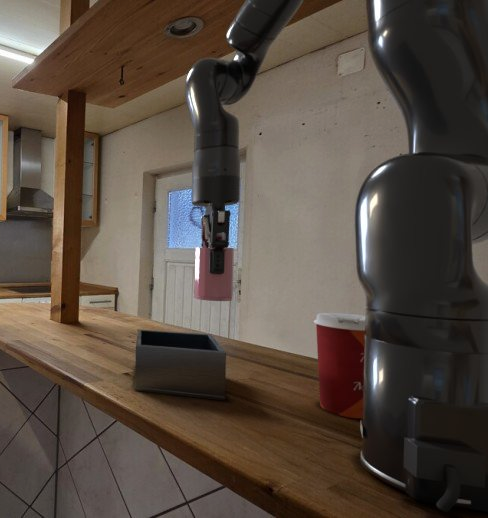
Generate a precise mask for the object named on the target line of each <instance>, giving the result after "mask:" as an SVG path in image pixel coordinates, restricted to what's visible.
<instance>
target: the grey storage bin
mask: <svg viewBox="0 0 488 518" xmlns="http://www.w3.org/2000/svg"><path fill="white" fill-rule="evenodd" d="M134 367H135V369H134V370H135V371H134V372H135V374H134V375H135V376H134V391H137V392H138V391H139V392H145V393H147V392H148V393H154V394H155V393H156V394H163V395H174V396H182V397H189V398H198V399H207V400H217V401H224V402H225V401H226V375H227V374H226V373H227V371H226V369H227V353H226V351H225V349H224V348H223V347H222V346H221V344H220V343H219V342H218V341H217V340H216V338H215V337H214V336H213V335H212V333H211V334H209V333H197V332H196V333H195V332H181V331H169V330H168V331H167V330H166V331H165V330H150V329H137V331H136V339H135V366H134Z"/></svg>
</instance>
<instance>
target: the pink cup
mask: <svg viewBox="0 0 488 518" xmlns="http://www.w3.org/2000/svg"><path fill="white" fill-rule="evenodd" d="M209 252H212V251H209V249H208V248H202V247H195V248H194V284H193V286H194V287H193V294H194V295H193V297H194V299H196V300H200V301H208V302H209V301H211V302H231V301H233V296H234V259H235V258H234V255H235V248H234V247H228V248H227V249H226V252H225V263H224V273H223V274H211V273H210V272H209Z"/></svg>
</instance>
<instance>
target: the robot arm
mask: <svg viewBox="0 0 488 518" xmlns="http://www.w3.org/2000/svg"><path fill="white" fill-rule="evenodd" d="M303 2H304V0H245V1H244V3H243V4H242V6H241V7H240V9H239V10H238V12H237V14H236V15H235V17H233V20H232V21H231V23H230V25H229V26H228V28H227V30H226V33H225V40H226V42H227V44H228V45H229V46H230V47H231V48H232V49H234V50H235V54H234V56H233V58H232V59H231V60H227V59H221V58H215V57H204V58H201V59H198V60H197V61H196V62H195V63H194V64H193V65H192V66H191V67H190V69H189V71H188V73H187V75H186V79H185V82H184V83H185V84H184V95H185V96H184V97H185V100H186V104H187V109H188V113H189V116H190V121H191V124H192V127H193V130H194V137H193V159H192V167H191V204H192V205H193V206H195V207H204V209H205V210H204V214H203V215H201V217H200V225H201V233H200V238H201V244H200V247H201V248H208V249H209V251H212V252H209V272H210V273H211V274H223V273H224V263H225V252H226V249H227V248H229V246H230V222H231V215H232V212H231V211H230V210H229V209H227V210H226V207H227V206H233V205H237V204H238V203H239V202H240V193H241V191H240V189H241V157H240V121H239V119H238V117H237V116H236V115H234V114H233V113H230V112H228V111H227V110H226V109H224V107H230V106H233V105H235V104H237V103H238V102H240V101H241V100H243V98H244V97H245V96H246V95H247V94H248V93H249V91H250V90H251V88H252V86H253V85H254V83H255V81H256V78H257V76H258V74H259V72H260V70H261V67H262V65H263V64H264V61H265V59H266V57H267V54H268V52H269V50H270V48H271V46H272V44H273V43H274V42H275V41H276V40H277V38H278V37H279V35H280V34H281V33H282V31H284V29H285V28H286V27H287V25H288V24H289V22H290V21H291V19H292V18H293V17H294V15H295V14H296V13H297V11H298V10H299V9H300V7H301V5H302V4H303ZM365 10H366V27H367V29H366V30H367V44H368V49H369V54H370V57H371V60H372V62H373V64H374V66H375V69H376V71H377V73H378V75H379V76H380V78H381V80H382V82H383V84H384V85H385V87H386V88H387V89H386V90H388V92H389V94H390V95H391V97H392V98H393V100H394V102H395V104H396V106H397V107H398V110H399V111H400V113H401V117H402V119H403V121H404V124H405V125H404V126H405V128H406V136H407V147H408V148H407V149H408V153H403V154H399V155H396V156H393V157H392V158H389V159H387V160H385V161H383V162H382V163H380V164H378V165H377V166H376V167H375V168H373V170H371V171H370V173H368V175H367V176H366V177H365V179H364V181H363V182H362V183H361V186H360V188H359V190H358V192H357V197H356V199H355V207H354V242H355V269H356V277H357V279H358V282H359V284H360V286H361V288H362V290H363V292H364V296H365V308H364V309H365V310H364V311H365V314H364V316H365V339H364V378H363V416H362V419H361V420H360V423H359V428H360V430H359V431H360V434H361V450H360V459H359V461H360V463H361V465H362V467H363V468H364V469H365V470H366V471H367V472H368V473H370V474H371V475H372V476H374V477H375V478H377V479H378V480H380V481H382V482H383V483H386V484H388V485H389V486H392V487H394V488H396V489H398V490H400V491H402V492H404V493H406V494H407V495H408V496H409V497H411V499H413V500H415V501H419V502H425V503H430V504H431V503H432V504H435V505H436V507H437V509H440V511H443V512H444V513H445V512H446V513H447V512H449V511H450V510H451V509H452V508H453V507H455V508H460V509H461V508H462V509H468V510H475V511H480V512H486V513H488V283H487V282H485V281H484V280H483V279H482V278H481V276H480V275H479V274H478V272H477V270H476V267H475V265H474V253H473V245H476V244H480V243H484V242H486V241H488V0H366V1H365Z"/></svg>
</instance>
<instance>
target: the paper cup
mask: <svg viewBox="0 0 488 518" xmlns="http://www.w3.org/2000/svg"><path fill="white" fill-rule="evenodd" d="M313 323H314V324H315V325H316V327H315V328H316V329H315V330H316V347H317V351H316V352H317V370H318V371H317V372H318V389H319V390H318V391H319V404H320V407H321V408H322V409H323V410H325V411H327V412H329V413H331V414H335V415H337V416H341V417H345V418H351V419H360V420H362V416H363V378H364V339H365V315H361V314H353V313H343V312H319V313H318V314H316V318H315V319H314V320H313Z"/></svg>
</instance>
